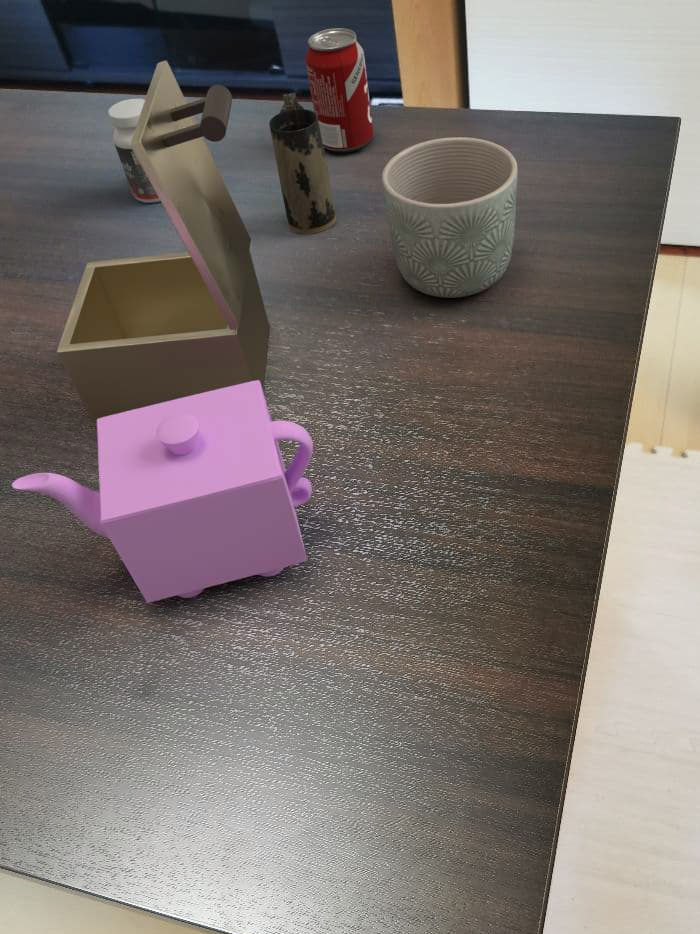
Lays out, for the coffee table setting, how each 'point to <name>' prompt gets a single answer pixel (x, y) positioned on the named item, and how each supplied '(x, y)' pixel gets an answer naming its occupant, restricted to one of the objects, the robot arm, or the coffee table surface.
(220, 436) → the teapot
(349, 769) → the coffee table surface
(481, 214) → the planter
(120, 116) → the pill bottle
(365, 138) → the soda can
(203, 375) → the tan open box
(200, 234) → the lid
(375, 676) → the coffee table surface
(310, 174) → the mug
